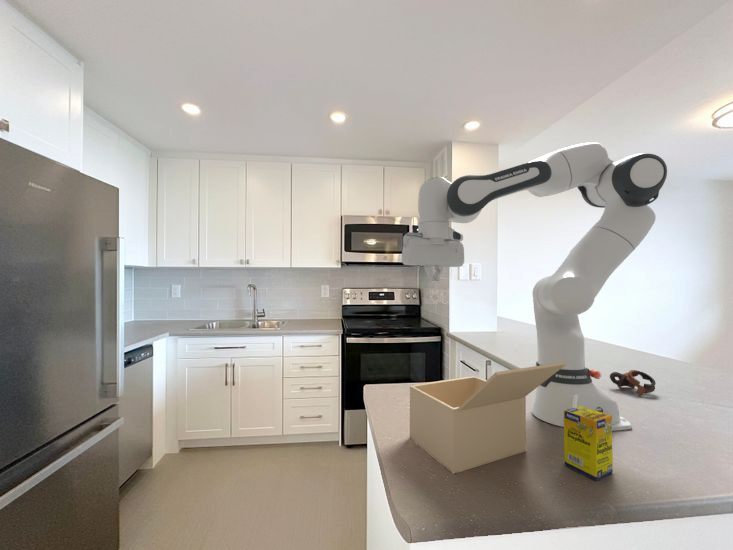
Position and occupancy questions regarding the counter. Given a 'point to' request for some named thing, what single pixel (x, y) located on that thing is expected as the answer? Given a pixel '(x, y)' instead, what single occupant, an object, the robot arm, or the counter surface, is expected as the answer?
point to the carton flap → (510, 385)
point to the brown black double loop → (633, 381)
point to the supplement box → (588, 442)
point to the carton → (464, 424)
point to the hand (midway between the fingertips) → (433, 281)
